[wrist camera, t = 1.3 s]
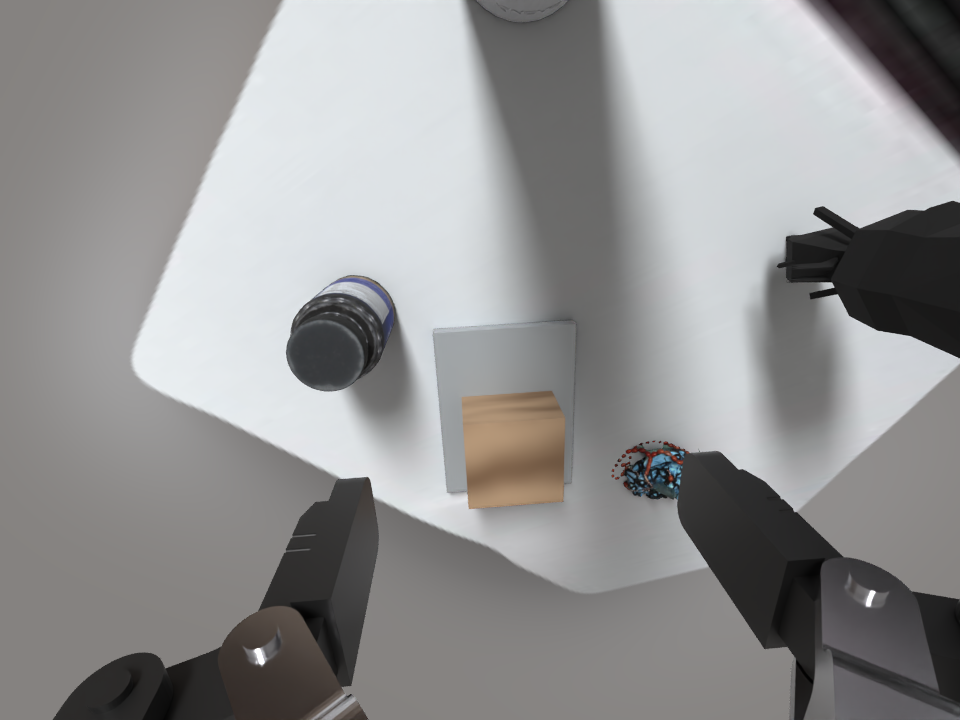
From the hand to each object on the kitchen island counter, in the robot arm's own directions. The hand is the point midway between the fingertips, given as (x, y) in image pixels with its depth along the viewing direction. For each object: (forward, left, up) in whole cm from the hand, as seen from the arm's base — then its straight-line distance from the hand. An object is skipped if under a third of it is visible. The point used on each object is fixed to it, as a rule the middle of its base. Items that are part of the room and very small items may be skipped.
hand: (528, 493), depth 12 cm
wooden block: (+14, +2, -26) cm, 30 cm away
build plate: (+12, +2, -28) cm, 30 cm away
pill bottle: (+2, -10, -28) cm, 30 cm away
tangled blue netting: (+20, +17, -28) cm, 39 cm away
